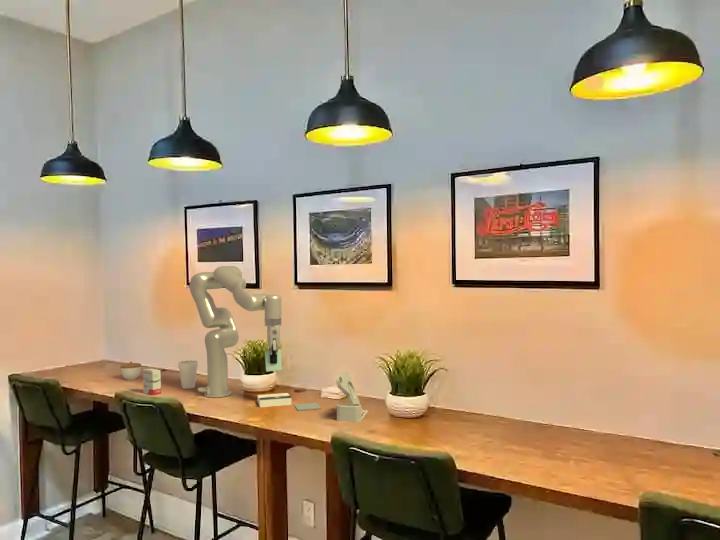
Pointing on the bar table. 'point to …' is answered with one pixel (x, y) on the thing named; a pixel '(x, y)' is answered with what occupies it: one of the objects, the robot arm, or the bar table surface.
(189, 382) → the foam cup
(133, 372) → the lidded jar
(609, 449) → the bar table surface
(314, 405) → the mat
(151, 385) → the ink box
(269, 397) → the box
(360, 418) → the phone holder
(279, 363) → the ticket
